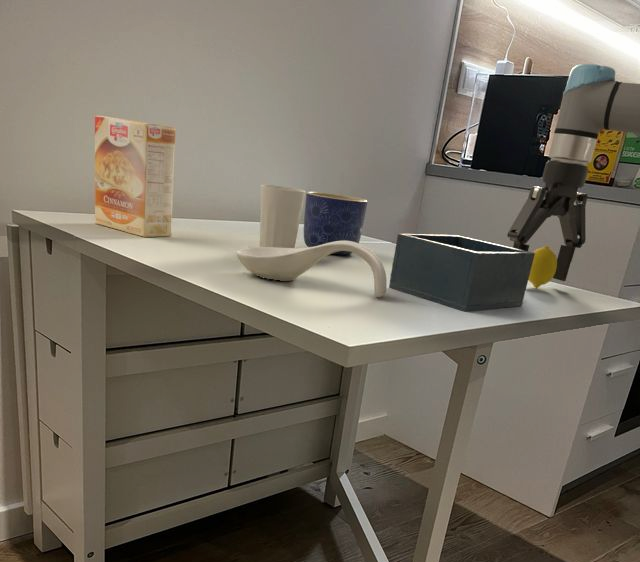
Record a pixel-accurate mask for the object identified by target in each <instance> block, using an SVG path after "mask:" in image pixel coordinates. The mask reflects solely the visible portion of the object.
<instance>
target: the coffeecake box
mask: <svg viewBox="0 0 640 562" xmlns="http://www.w3.org/2000/svg"><path fill="white" fill-rule="evenodd" d="M176 129H177V128H176V126H170V125H163V124H155V123H149V122H143V121H138V120H131V119H126V118H117V117H112V116H111V117H110V116H106V115H105V116H104V115H94V224H96V225H100V226H104V227H108V228H111V229H114V230H118V231H122V232H124V233H129V234H131V235H136V236H138V237H142V236H143V238H157V237H159V238H161V237H172V225H173V203H174V202H173V200H174V199H173V198H174V179H175V178H174V177H175V153H176V151H175V150H176V131H177V130H176Z"/></svg>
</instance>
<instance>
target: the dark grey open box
mask: <svg viewBox="0 0 640 562" xmlns="http://www.w3.org/2000/svg"><path fill="white" fill-rule="evenodd" d="M395 243H396V244H395V247H394V248H395V250H394V255H393V260H392V266H391V272H390V278H389V285H388V288H390V289H394V290H397V291H400V292H403V293H406V294H409V295H412V296H415V297H418V298H421V299H424V300H428V301H431V302H434V303H437V304H439V305H440V304H441V305H443V306H446V307H450V308H453V309H456V310H459V311H461V312H474V311H484V310H485V311H486V310H495V309H505V308H506V309H507V308H515V307H522V306H523V302H524V299H525V295H526V290H527V286H528V282H529V280H528V279H529V275H530V271H531V267H532V263H533V259H534V255H535V253H533V252H532V251H529V250H528V251H524V250H519V249H515V248H513V247H510V246H506V245H502V244H498V243H492V242H489V241H483V240H480V239H475V238H470V237H466V236H462V235H458V234H428V233H427V234H425V233H397V237H396V242H395Z"/></svg>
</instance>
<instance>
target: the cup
mask: <svg viewBox="0 0 640 562" xmlns="http://www.w3.org/2000/svg"><path fill="white" fill-rule="evenodd" d="M305 197H306V190H304V189H301V188H295V187H288V186H283V185H274V184H261V185H260V217H259V218H260V221H259V223H260V224H259V247H276V248H296V243H297V237H298V232H299V227H300V221H301V216H302V212H303V211H302V210H303V205H304V202H305V201H304V200H305Z"/></svg>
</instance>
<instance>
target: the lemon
mask: <svg viewBox="0 0 640 562" xmlns="http://www.w3.org/2000/svg"><path fill="white" fill-rule="evenodd" d="M532 253H535V255H534V259H533V263H532V267H531V271H530V275H529V279H528V282H530V283H531V284H532V286H533V288H535V289H538V288H540V287H541V286H543V285H546V284H548V283H550V282H551V281H552V279H554V278H553V276H554V274H555V272H556V268H557V258H558V257H557V255H556V253H555V252H554V251H553V249H551V248H550V247H549V246H548V245H544V246H543V247H540V248H539V247H538V248H537V249H535V250H534V251H533V252H532Z"/></svg>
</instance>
